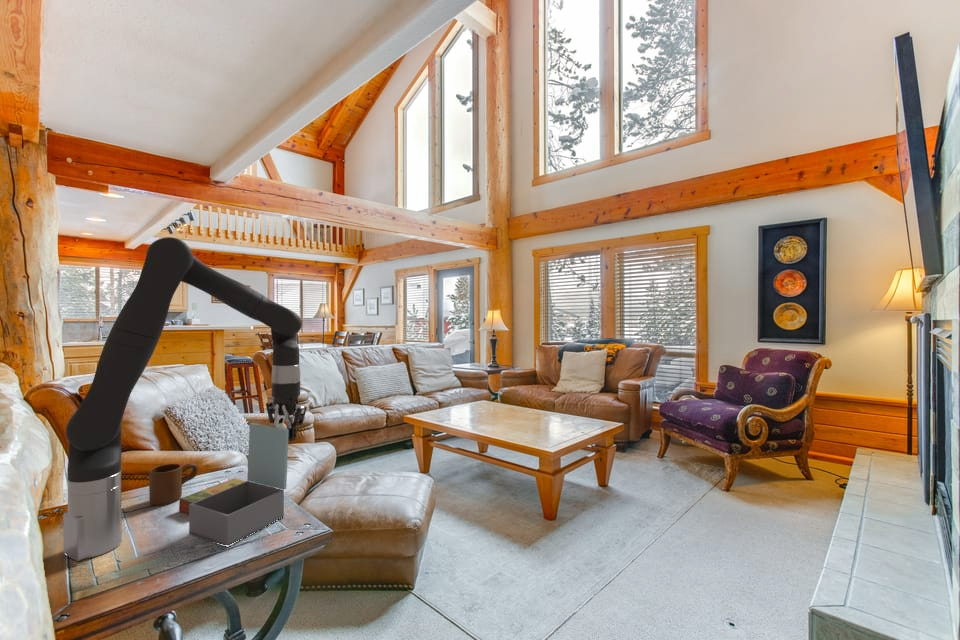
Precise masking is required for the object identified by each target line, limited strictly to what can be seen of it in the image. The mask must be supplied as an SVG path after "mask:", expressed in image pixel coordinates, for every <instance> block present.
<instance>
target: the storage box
mask: <svg viewBox="0 0 960 640" xmlns="http://www.w3.org/2000/svg"><path fill="white" fill-rule="evenodd" d="M284 490H285V489H284ZM284 490H283V489H279V488H275V487H271V486H267V485H263V484H259V483H255V482H251V481H248V480H246V482H243V483H241V484H238V485H236V486H233V487H231V488H228V489H226V490H223V491H221V492H218V493H216V494H213V495H211V496H209V497H206V498H204V499H201V500H199V501H196V502H194V503H191V504H189V515H188V517H189V518H188V519H189V520H188V524H189V525H188V527H189V528H188V532H189V533H188V534H189V535H191V536H193V537H196V538H199V539H202V540H205V541H207V542H210V543H212V542H215V543H219V544H223V545H230V544H232V543H234V542H236V541H238V540H240V539H242V538H245V537H247V536H249V535H250V534H252V533H254V532H256V531H258V530H260V529H262V528H264V527H265V526H267V525H269V524H271V523H272V522H274V521H276V520H277V519H279V518H281V517H283V516H284V517H285V511H284V510H285V507H284V506H285V503H284V502H285V501H284V500H285V495H284V494H285V491H284ZM271 525H272V524H271ZM269 526H270V525H269ZM267 527H268V526H267ZM264 529H265V528H264ZM262 530H263V529H262ZM260 531H261V530H260ZM258 532H259V531H258ZM256 533H257V532H256ZM254 534H255V533H254ZM249 537H250V536H249ZM247 538H248V537H247ZM245 539H246V538H245ZM215 543H214V544H215Z"/></svg>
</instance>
